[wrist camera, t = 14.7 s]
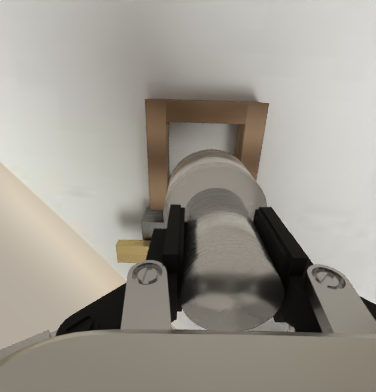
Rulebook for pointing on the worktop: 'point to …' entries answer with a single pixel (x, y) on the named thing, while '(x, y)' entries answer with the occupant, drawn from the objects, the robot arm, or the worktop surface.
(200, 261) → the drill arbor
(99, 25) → the worktop surface
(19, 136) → the worktop surface
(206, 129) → the worktop surface
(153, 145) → the frame
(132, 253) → the brass key
